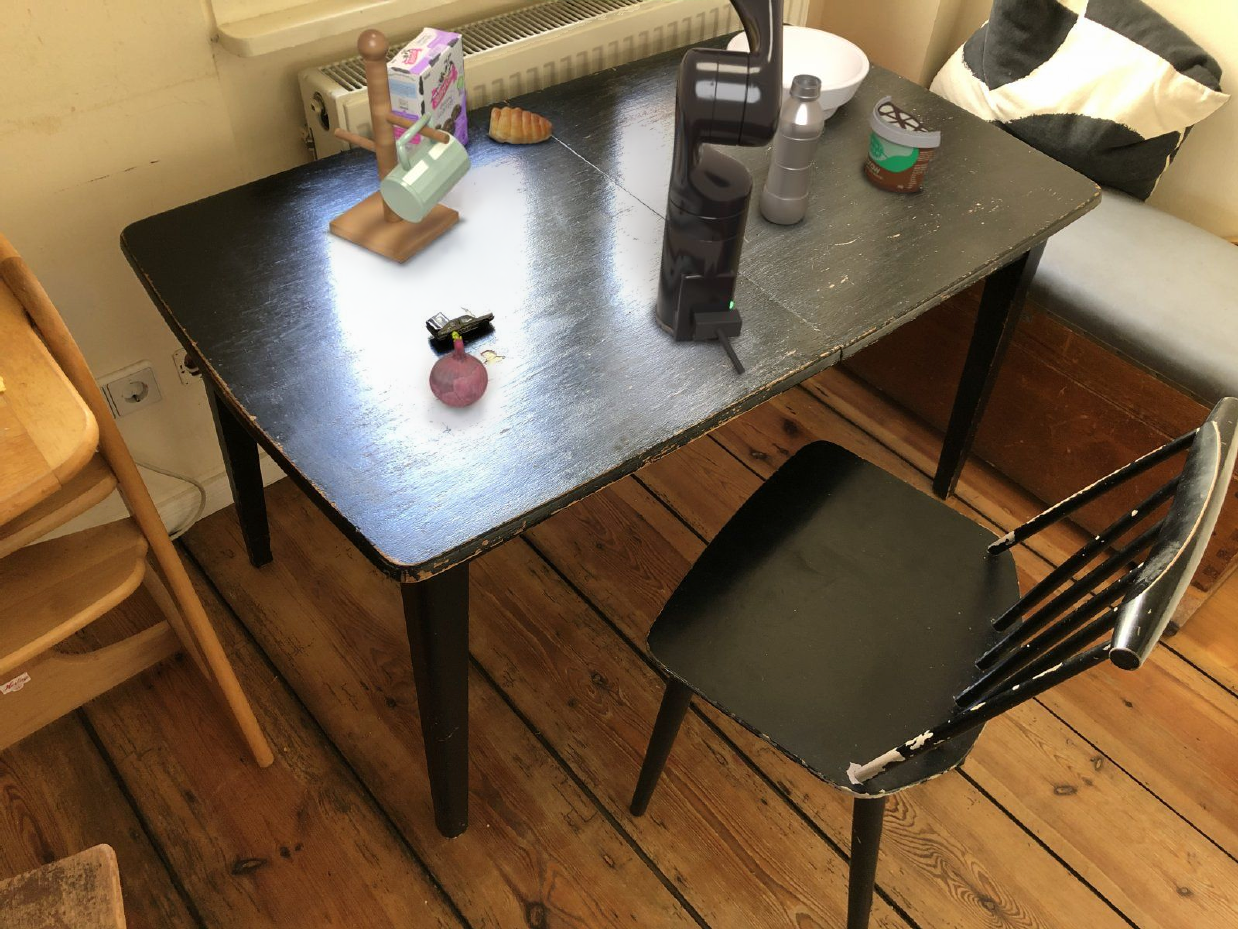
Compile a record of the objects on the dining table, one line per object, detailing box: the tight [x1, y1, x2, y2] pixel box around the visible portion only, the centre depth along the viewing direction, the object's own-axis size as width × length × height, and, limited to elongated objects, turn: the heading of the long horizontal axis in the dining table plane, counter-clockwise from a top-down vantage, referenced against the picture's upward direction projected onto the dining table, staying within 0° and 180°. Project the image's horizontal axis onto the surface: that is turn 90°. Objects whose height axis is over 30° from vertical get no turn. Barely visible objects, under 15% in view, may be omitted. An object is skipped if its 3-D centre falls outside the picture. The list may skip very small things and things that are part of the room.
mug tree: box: [328, 28, 460, 264], centre depth 124 cm, size 18×12×26 cm, turn 59°
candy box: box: [386, 26, 470, 164], centre depth 140 cm, size 14×6×16 cm, turn 162°
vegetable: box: [428, 331, 489, 408], centre depth 108 cm, size 6×6×10 cm
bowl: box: [726, 24, 870, 121], centre depth 161 cm, size 22×22×8 cm
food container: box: [864, 94, 942, 193], centre depth 146 cm, size 12×6×10 cm, turn 27°
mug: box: [379, 112, 472, 223], centre depth 123 cm, size 11×6×10 cm
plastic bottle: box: [759, 74, 825, 226], centre depth 134 cm, size 6×7×20 cm
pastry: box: [488, 106, 553, 145], centre depth 151 cm, size 9×7×4 cm
